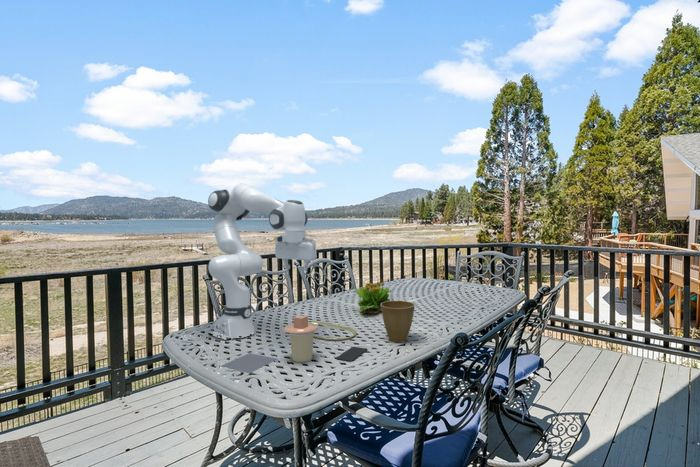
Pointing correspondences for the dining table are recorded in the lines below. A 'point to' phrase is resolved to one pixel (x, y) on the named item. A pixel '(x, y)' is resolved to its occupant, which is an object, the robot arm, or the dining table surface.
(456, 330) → the dining table surface
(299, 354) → the coffee cup
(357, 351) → the phone
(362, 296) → the potted flower
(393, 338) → the plant pot
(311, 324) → the lid
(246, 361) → the mat
